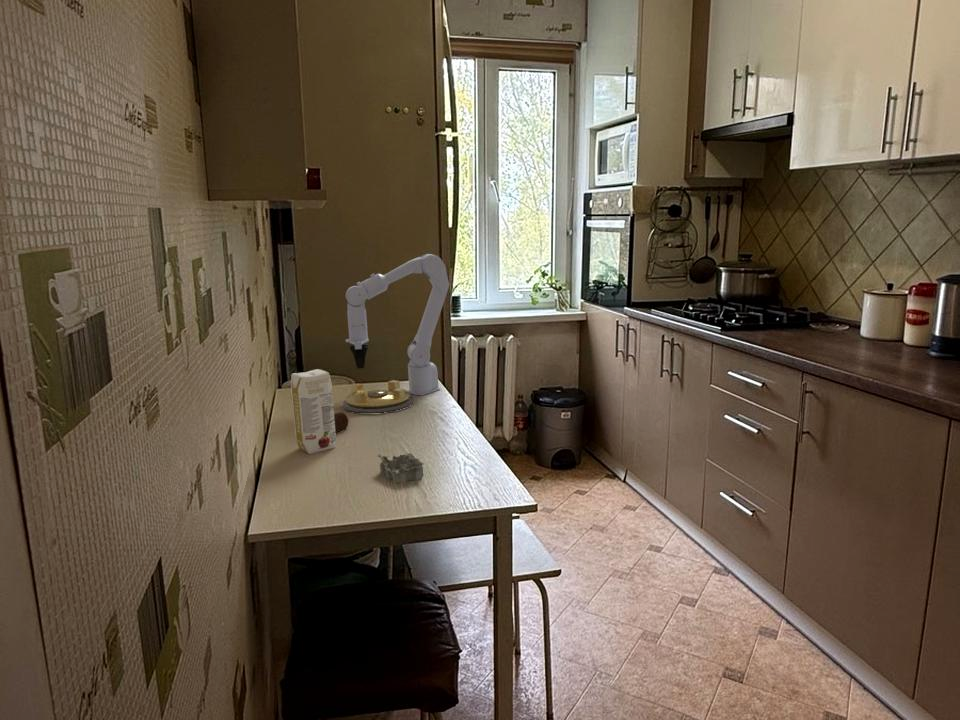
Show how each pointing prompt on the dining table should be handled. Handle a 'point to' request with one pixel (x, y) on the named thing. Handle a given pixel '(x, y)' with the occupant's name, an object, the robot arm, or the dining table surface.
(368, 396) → the round tray
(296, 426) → the juice carton
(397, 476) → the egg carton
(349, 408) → the grey plate
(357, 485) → the dining table surface
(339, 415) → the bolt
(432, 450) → the dining table surface
